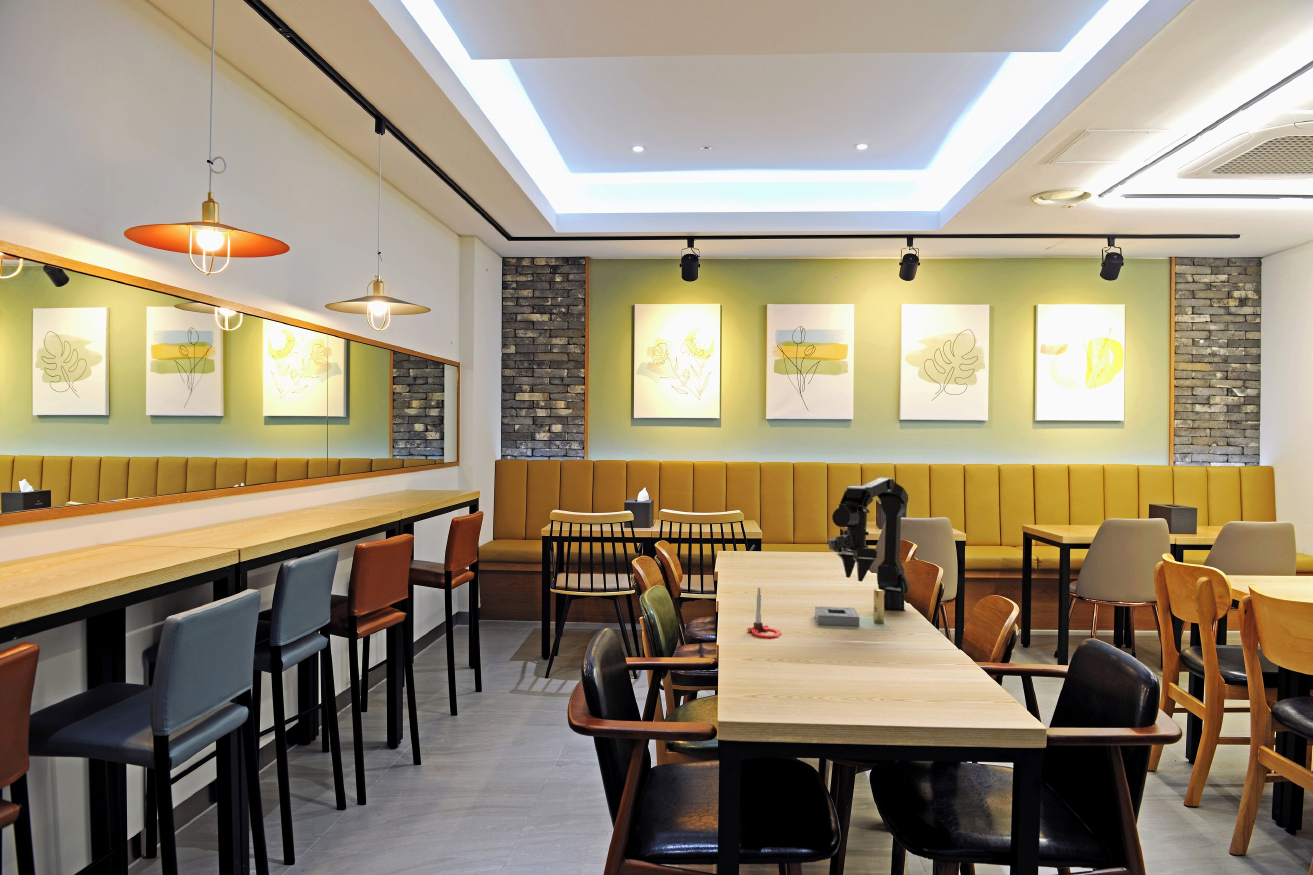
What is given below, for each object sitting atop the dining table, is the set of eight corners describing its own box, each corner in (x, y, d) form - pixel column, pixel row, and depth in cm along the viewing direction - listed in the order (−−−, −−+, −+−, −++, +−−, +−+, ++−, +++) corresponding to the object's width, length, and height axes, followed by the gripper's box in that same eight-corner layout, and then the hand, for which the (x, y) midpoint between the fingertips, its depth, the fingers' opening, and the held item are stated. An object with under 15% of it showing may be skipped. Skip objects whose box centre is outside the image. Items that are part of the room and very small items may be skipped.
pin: (883, 621, 223) (883, 589, 223) (884, 624, 220) (884, 591, 220) (872, 621, 224) (873, 588, 224) (874, 623, 221) (874, 590, 221)
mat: (883, 618, 229) (883, 617, 229) (891, 630, 214) (891, 629, 214) (814, 616, 232) (814, 614, 232) (818, 627, 217) (818, 626, 217)
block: (854, 617, 229) (854, 607, 229) (859, 626, 217) (859, 616, 217) (815, 615, 231) (815, 606, 231) (818, 625, 219) (818, 615, 219)
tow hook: (787, 638, 208) (768, 628, 216) (788, 593, 207) (769, 585, 215) (763, 641, 204) (744, 632, 212) (764, 596, 203) (745, 588, 212)
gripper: (820, 524, 231) (817, 574, 229) (842, 527, 212) (840, 581, 211) (854, 526, 232) (851, 576, 231) (879, 529, 214) (876, 583, 212)
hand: (854, 579), depth 221 cm, fingers open, 9 cm apart
